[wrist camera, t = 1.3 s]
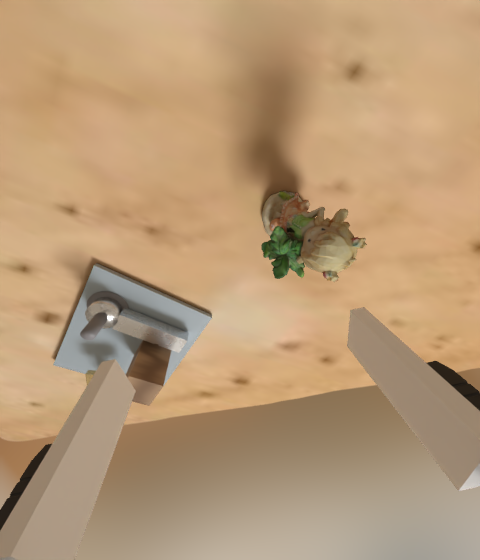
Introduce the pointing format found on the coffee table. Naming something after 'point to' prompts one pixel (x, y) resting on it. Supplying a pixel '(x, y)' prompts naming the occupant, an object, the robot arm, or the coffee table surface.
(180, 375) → the coffee table surface
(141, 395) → the block
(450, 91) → the coffee table surface
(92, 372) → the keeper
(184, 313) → the board
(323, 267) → the figurine
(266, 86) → the coffee table surface
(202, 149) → the coffee table surface
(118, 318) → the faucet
